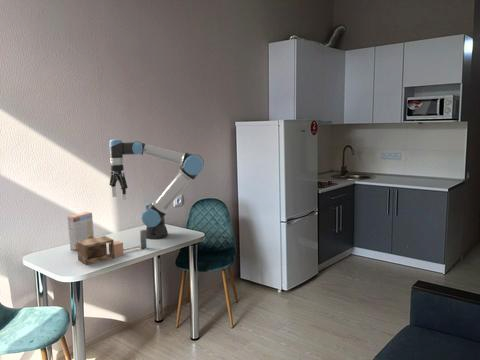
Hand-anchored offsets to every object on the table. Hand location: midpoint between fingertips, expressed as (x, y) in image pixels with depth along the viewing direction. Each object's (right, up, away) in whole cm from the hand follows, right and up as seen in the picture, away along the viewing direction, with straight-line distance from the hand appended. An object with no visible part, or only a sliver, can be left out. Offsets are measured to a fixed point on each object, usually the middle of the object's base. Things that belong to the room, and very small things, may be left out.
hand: (119, 198), depth 264 cm
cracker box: (-21, -30, -4) cm, 37 cm away
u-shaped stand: (+11, -31, -15) cm, 36 cm away
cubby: (-5, -33, -28) cm, 44 cm away
